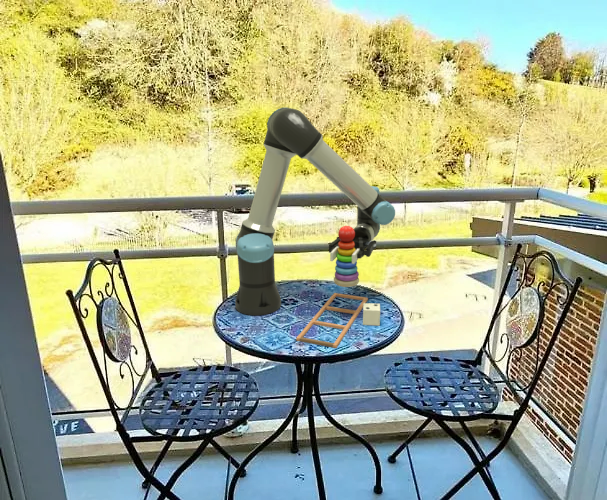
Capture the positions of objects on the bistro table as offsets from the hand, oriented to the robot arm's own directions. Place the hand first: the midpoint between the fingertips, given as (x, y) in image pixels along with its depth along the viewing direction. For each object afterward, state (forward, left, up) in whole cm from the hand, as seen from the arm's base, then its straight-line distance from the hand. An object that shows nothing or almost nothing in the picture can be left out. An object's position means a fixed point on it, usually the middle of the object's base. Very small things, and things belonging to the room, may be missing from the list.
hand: (342, 258), depth 137 cm
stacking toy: (0, +5, -10) cm, 11 cm away
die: (+9, +1, -20) cm, 22 cm away
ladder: (-2, -1, -20) cm, 20 cm away
